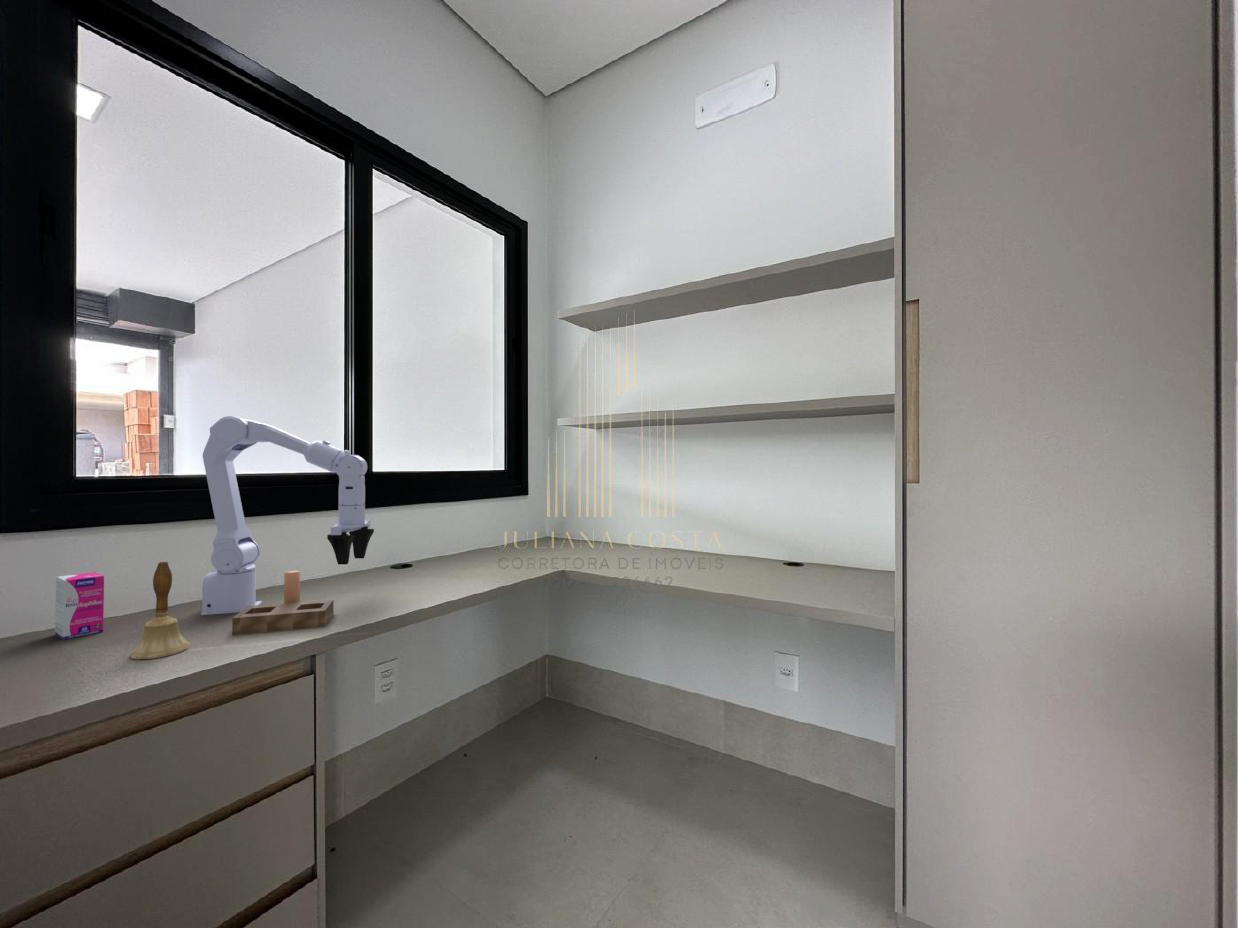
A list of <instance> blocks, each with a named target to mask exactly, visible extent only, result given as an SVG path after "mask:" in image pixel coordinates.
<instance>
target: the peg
mask: <svg viewBox="0 0 1238 928" xmlns="http://www.w3.org/2000/svg"><path fill="white" fill-rule="evenodd" d="M283 576H284V577H283V603H295V602H301V571H300V570H289V571H284V572H283Z"/></svg>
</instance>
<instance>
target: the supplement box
mask: <svg viewBox="0 0 1238 928" xmlns="http://www.w3.org/2000/svg"><path fill="white" fill-rule="evenodd" d="M104 600H105V576H104V575H103V574H100V573H98V572H96V571H94V572H86V573H85V572H83V573H77V574H76V573H75V574H68V575H60V576H56V577H55V609H54V610H55V611H54V613H55V615H54V635H55V636H57V637H58V638H59V639H61V640H62V641H63V640H68V639H71V638H77V637H83V636H88V635H93V634H99V633H103V632H104V618H105V617H104V615H105V613H104V610H105V609H104V608H105V607H104V605H105V603H104V602H105V601H104Z"/></svg>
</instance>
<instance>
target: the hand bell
mask: <svg viewBox="0 0 1238 928" xmlns="http://www.w3.org/2000/svg"><path fill="white" fill-rule="evenodd" d="M152 577H153V578H152V586H153V587H152V589H153V591H154V593H155V599H156V602H155V613H154V614H155V615H154V618H152V619H151V620H149V621H147V622H146V623H145V624H144V629H143V632H142V637H141V639H140V642H139V643H138V645H137V646H136V647H135V648H134V649H133V650H132V651H131V652H130V654H129V658H131V659H133V660H151V659H158V658H163V657H165V658H166V657H168V656H173V655H177V654H180V653H182V652H185V651H187V650H188V649H189V648H190V647H191V646H192V645H191V643H190V642H189V641H188V640H187V639H185V638H184V636H183V635H182V633H181V631H180V627H179V621H178V619H177V618H176V617H172V616H169V613H168V611H169V608H168V607H169V603H168V602H169V601H168V600H169V598H168V597H169V594H170V591H171V588H172V583H173V574H172V570H171V568H170V566H169V562H168V561H160V562H158V564H157V565H156V569H155V571H154V574H153V576H152Z"/></svg>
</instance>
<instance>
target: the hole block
mask: <svg viewBox="0 0 1238 928" xmlns="http://www.w3.org/2000/svg"><path fill="white" fill-rule="evenodd" d="M333 616H334V599H325V600H312V601H310V600H309V601H300V602H295V603H284V602H283V603H273V604H271V603H270V604H260V605H255V606H248V607H246V608H245V609H244V610H242V611H241V612H237V613H236V614H235V615H234V616H233V617H232V618H231V619H232V621H231V622H232V624H231V625H232V626H231V627H232V628H231V629H232V631H231V633H232V636H234V635H244V634H246V635H247V634H256V633H265V632H277V631H278V632H279V631H280V632H281V631H289V630H300V629H312V628H313V629H314V628H321V627H322V628H323V627H326V626H327V625H328V623H329V622H330V620H331V618H332V617H333Z"/></svg>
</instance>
